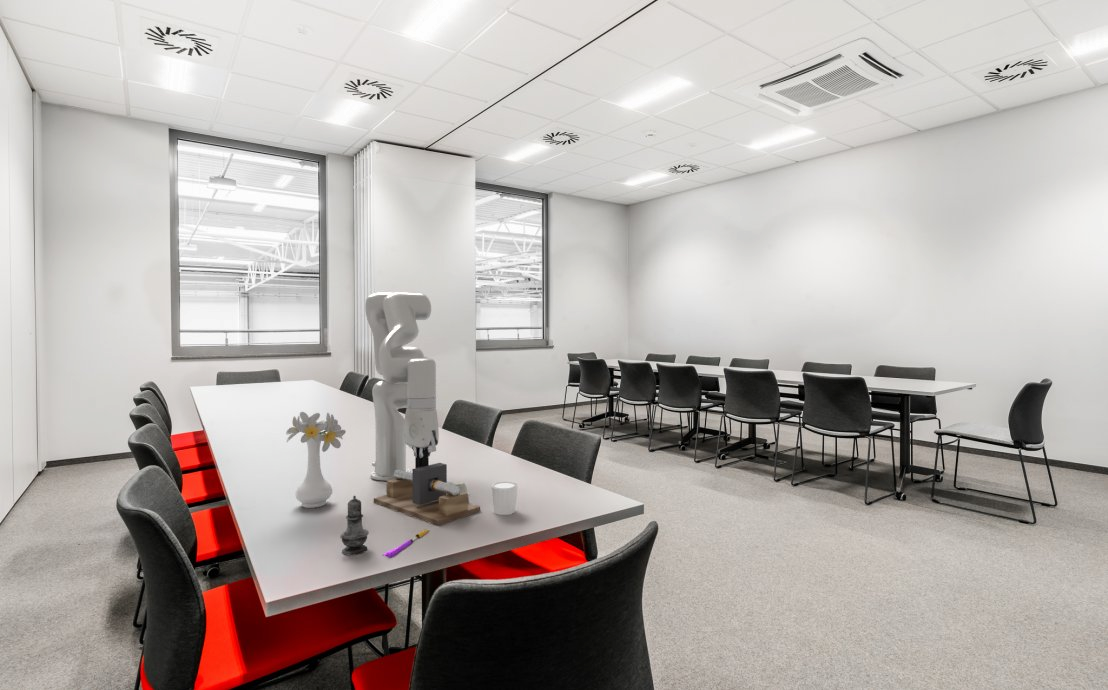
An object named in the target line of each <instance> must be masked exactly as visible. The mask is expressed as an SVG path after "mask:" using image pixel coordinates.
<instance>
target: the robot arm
mask: <svg viewBox="0 0 1108 690" xmlns="http://www.w3.org/2000/svg"><path fill="white" fill-rule="evenodd" d="M364 306H365V307H364V309H365V311H364V312H365V316H366V320H367V322H368V325H369V327H370V329H371V333H372V337H373V351H374V352H373V353H374V354H373V355H374V365H375V370H376V372H377V374H379V375H380V376H382V378H383V380H379V381H377V382H376V383H375V384H374V385H373V386H372V393H371V395H372V402H373V407H374V419H375V424H374V425H375V426H374V427H375V460H374V461H372V463H371V466H372V467H374V470H373V471H372V472H371V473H370V478H371V479H372V480H375V481H386V482H387V481H388V480H392V479H396V478H395V477H394V472H395V471H396V470H402V471H406V472H409V473H412V471H411V470H410V469H409V468H407V455H406V454H407V446H408V448H409V449H412V452H413V457H414V458H415V459H414V460H415V461H414V462H415V468H419V467H423V466H428V465H430V464H429V457H430V456H431V453H433V452H436V451H437V446H438V444H439V441H440V440H439V435H440V431H439V419H438V418H439V417H438V412H437V391H436V390H437V368H436V367H437V365H436V361H435V360H434V358H433V359H432V358H429V357H428V356H425V355H424V353H423V351H422V349H420V348H419V347H416V346H406V345H407V344H409V343H412V342H413V341H414V340H415V339H416V338H417V337H418V335H419V332H420V331H419V327H418V323H417V321H425V320H428V319H429V318H430V317H431V313H432V304H431V301H430V299H429V297H428V296H427V295H426V294H424V293H413V292H376V293H371V294H370V295H368V296H367V297H366V300H365V305H364ZM399 409H406V410H405V414H404V416H403V415H402V414H401V413H400V412H399ZM415 468H414V469H415Z"/></svg>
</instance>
